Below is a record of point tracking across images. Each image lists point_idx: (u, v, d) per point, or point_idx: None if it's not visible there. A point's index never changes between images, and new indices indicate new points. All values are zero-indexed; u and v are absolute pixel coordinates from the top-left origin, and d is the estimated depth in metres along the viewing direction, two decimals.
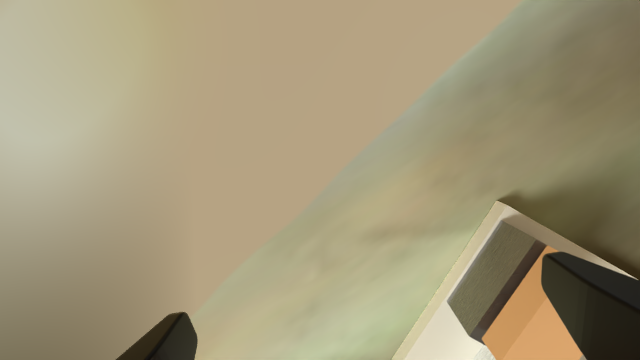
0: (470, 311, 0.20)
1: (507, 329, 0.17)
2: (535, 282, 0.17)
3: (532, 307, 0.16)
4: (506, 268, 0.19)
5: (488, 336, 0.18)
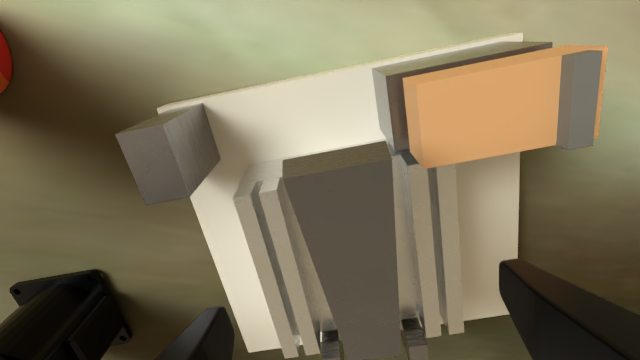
0: (403, 68, 0.15)
1: (451, 73, 0.12)
2: (526, 56, 0.12)
3: (508, 63, 0.11)
4: (486, 53, 0.14)
5: (415, 76, 0.13)
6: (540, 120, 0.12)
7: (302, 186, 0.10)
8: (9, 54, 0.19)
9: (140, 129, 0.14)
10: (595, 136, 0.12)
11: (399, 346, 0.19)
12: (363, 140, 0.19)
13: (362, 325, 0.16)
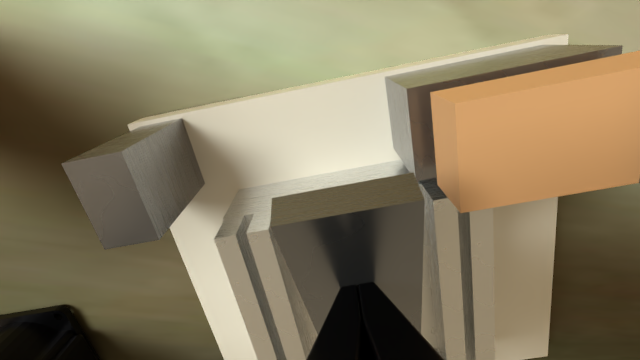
0: (426, 78, 0.12)
1: (499, 87, 0.09)
2: (598, 65, 0.09)
3: (579, 75, 0.08)
4: (533, 59, 0.11)
5: (447, 90, 0.10)
6: (620, 151, 0.09)
7: (298, 236, 0.07)
8: None
9: (93, 157, 0.11)
10: None
11: None
12: (373, 161, 0.16)
13: None
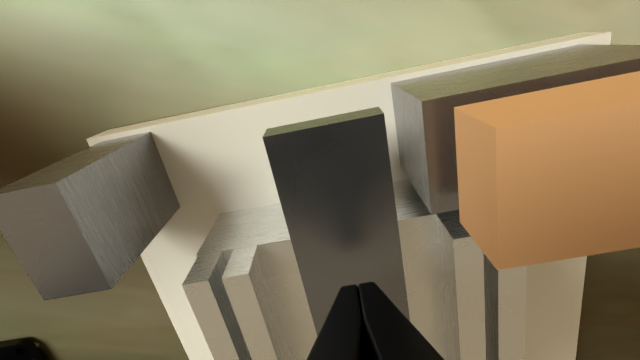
0: (445, 86, 0.10)
1: (552, 102, 0.07)
2: None
3: None
4: (581, 63, 0.09)
5: (478, 106, 0.07)
6: None
7: (285, 149, 0.09)
8: None
9: (20, 190, 0.08)
10: None
11: None
12: None
13: None
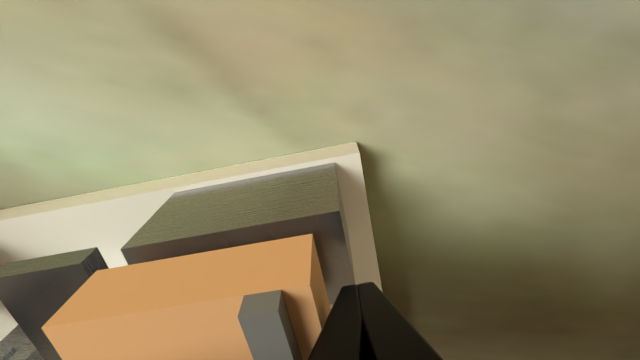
0: (169, 222, 0.11)
1: (124, 290, 0.08)
2: (234, 265, 0.08)
3: (181, 294, 0.08)
4: (265, 213, 0.10)
5: (104, 275, 0.09)
6: None
7: (7, 288, 0.10)
8: None
9: None
10: None
11: None
12: None
13: None
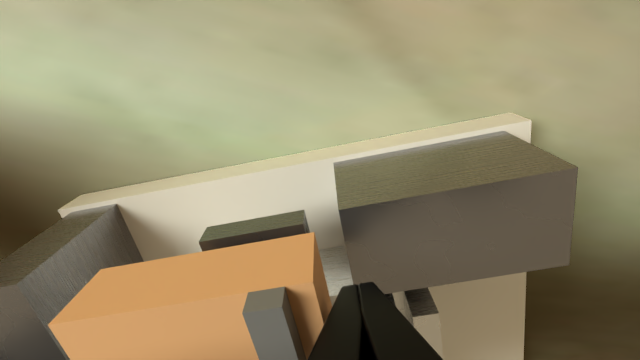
0: (367, 186, 0.11)
1: (129, 288, 0.08)
2: (238, 263, 0.08)
3: (186, 291, 0.08)
4: (482, 173, 0.10)
5: (108, 273, 0.09)
6: None
7: None
8: None
9: None
10: None
11: None
12: (326, 246, 0.15)
13: None
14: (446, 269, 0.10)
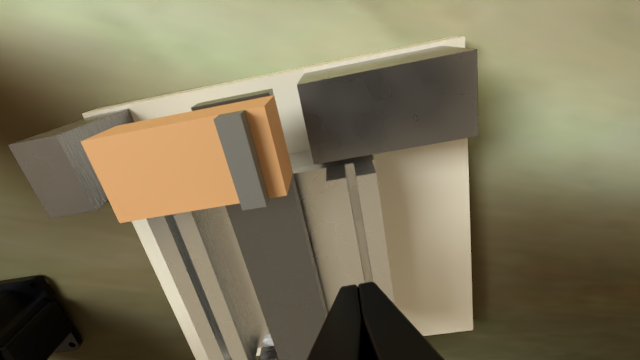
0: (323, 75, 0.14)
1: (137, 126, 0.12)
2: (215, 109, 0.11)
3: (177, 120, 0.11)
4: (409, 60, 0.13)
5: (122, 125, 0.12)
6: (221, 178, 0.11)
7: None
8: None
9: (34, 140, 0.13)
10: (285, 194, 0.11)
11: None
12: (300, 149, 0.18)
13: (286, 308, 0.17)
14: (382, 138, 0.13)
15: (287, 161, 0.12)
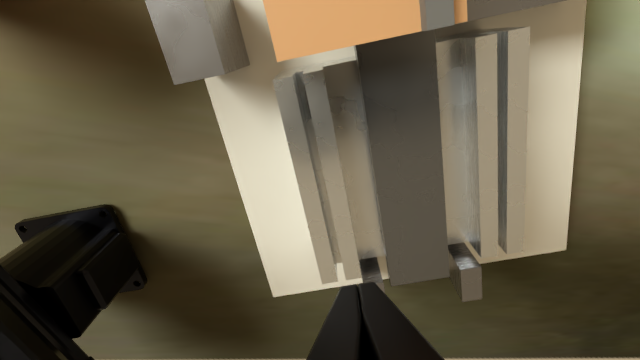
0: None
1: None
2: None
3: None
4: None
5: None
6: None
7: None
8: None
9: None
10: (464, 20, 0.11)
11: (446, 255, 0.17)
12: None
13: (405, 201, 0.16)
14: None
15: None
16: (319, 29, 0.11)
